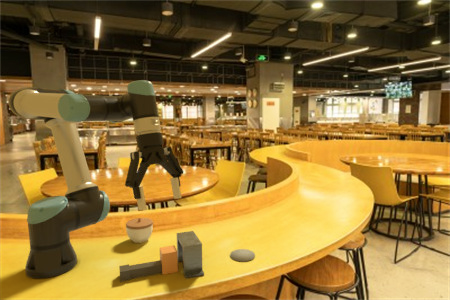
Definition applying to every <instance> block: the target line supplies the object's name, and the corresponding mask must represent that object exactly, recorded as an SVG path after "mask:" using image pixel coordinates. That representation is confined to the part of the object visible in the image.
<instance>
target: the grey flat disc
mask: <svg viewBox="0 0 450 300" xmlns="http://www.w3.org/2000/svg"><path fill="white" fill-rule="evenodd" d="M229 254H230V255H229V256H230V258H231V259H232V260H233V261H236V262H242V263H244V262H250V261H253V260H254V259H255V258H256V254H255V253H254V251H253V250H249V249H245V248H239V249H238V248H237V249H234V250H232V251H231V252H230V253H229Z"/></svg>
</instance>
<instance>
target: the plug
mask: <svg viewBox="0 0 450 300" xmlns="http://www.w3.org/2000/svg"><path fill="white" fill-rule="evenodd" d="M178 263H179V262H178V259H177V247H176V246H175V245H168V246H163V247H162V246H161V247H159V260H155V261H153V260H152V261H148V262H143V263H142V262H141V263H137V264H131V265H130V264H128V263H127V264H124V265H119V282H126V281H130V280H131V279H133V280H134V279H139V278H142V277H143V278H144V277H147V276H148V277H149V276H154V275H159V274H161V275H167V274H173V273H177V272H179V270H178V269H179V268H178V267H179V266H178Z"/></svg>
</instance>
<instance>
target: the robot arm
mask: <svg viewBox="0 0 450 300" xmlns="http://www.w3.org/2000/svg"><path fill="white" fill-rule="evenodd" d="M126 86H127V93H124V94H123V95H118V96H116V95H115V96H114V95H95V94H81V93H75V92H74V91H72V90H70V89H63V88H46V87H35V86H33V87H31V86H26V87H21V88H18V89H16V90H13V92H12V93H11V94H10V95H9V97H8V106H9V109H10V111H11V112H12V113H13V114H14V115H15V116H18V117H19V118H22V119H26V120H43V121H44V125H45V127H46V128H48V129H50V130H51V134H52V136H53V142H54V145H55V148H56V152H57V155H58V160H59V163H60V166H61V169H62V173H63V177H64V180H65V184H66V186H67V187H66V188H67V190H66V192H65V193H64V195H55V196H49V197H45V198H41V199H39V200H37V201H35V202H33V203H31V204H30V205H29V207H28V208H27V219H26V222H27V227H28V237H29V239H28V240H29V249H30V250H29V253H28V256H27V260H26V264H25V266H24V267H25V274H26V276H27V277H28V278H31V279H47V278H52V277H56V276H57V277H58V276H60V275H62V274H65V273H67V272H68V271H70V270H72V269H73V268H74V267H76V265H77V263H78V259H77V258H78V257H77V253H76V251H75V248H74V247H73V245H72V243H71V240H70V239H71V238H70V233H71V232H73V231H77V230H80V229H83V228H86V227H89V226H92V225H96V224H97V223H100V222H102V221H104V220H105V219H106V218H107V217H108V215H109V212H110V208H111V207H110V206H111V205H110V199H109V196H108V194H107V193H106V192H105V191H104V190H101V189H99V186H98V184H96V183H94V182H93V179H92V176H91V173H90V172H91V171H90V169H89V166H88V164H87V159H86V156H85V153H84V149H83V145H82V141H81V138H80V134H79V131H78V128H77V123H81V122H109V123H111V124H116V123H117V124H118V123H123V122H126V121H127V120H131V119H132V121H133V127H134V134H135V135H137V136H136V137H135V139H136V144H137V148H138V150H139V151H133V152H130V153H129V156H130V157H129V158H130V161H129V166H128V169H127V175H126V179H125V184H124V186H125V187H126V188H131V189H132V192H133V197H134V199H135V200H136V203H137V209H138V211H146V210H147V203H146V198H145V192H144V191H145V190H144V186H143V185H142V186H141V184H142V181H143V179H144V178H145V175H146V173H147V171H148V168H149V167H150V166H152V165H158V164H159V165H160V166H161V167H162V168H163V169H164V170H165V171H166V172H167V173H168V174H169V175H170V177H171V178H170V184H171V190H172V195H173V199H177V200H178V199H182V192H181V179H180V178H181V177H182V175H183V174H184V170H183V167H181V165H180V163H179V162H178V160H177V158H176V156H175V155H174V153H173V148H172V147H171V146H167V147H163V145H164V138H163V133H162V132H161V130H162V128H161V121H160V116H159V111H158V110H159V109H158V105H157V97H156V93H155V88H154V85H153V83H152V82H151V81H149V80H146V79H145V80H144V79H141V80H135V81H131V82H129V83H128V84H127V85H126ZM140 159H141V161H140Z"/></svg>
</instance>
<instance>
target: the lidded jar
mask: <svg viewBox="0 0 450 300" xmlns="http://www.w3.org/2000/svg"><path fill="white" fill-rule="evenodd" d="M153 225H154V221H153V219H151V218H149V217H138V218H136V217H135V218H131V219H129V220H128V221H126V222H125V227H126V229H125V230H126V234H127V237H128V239H130V240H131V241H132V243H133V244H134V243H135V244H143V243H146V242H148V240H149V239H150V237H151V236H152V233H153V228H154V227H153Z"/></svg>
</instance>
